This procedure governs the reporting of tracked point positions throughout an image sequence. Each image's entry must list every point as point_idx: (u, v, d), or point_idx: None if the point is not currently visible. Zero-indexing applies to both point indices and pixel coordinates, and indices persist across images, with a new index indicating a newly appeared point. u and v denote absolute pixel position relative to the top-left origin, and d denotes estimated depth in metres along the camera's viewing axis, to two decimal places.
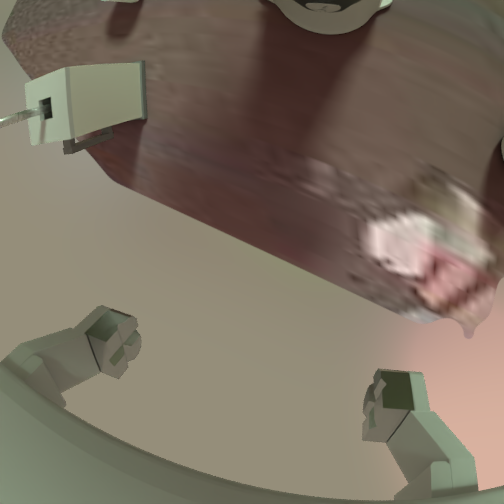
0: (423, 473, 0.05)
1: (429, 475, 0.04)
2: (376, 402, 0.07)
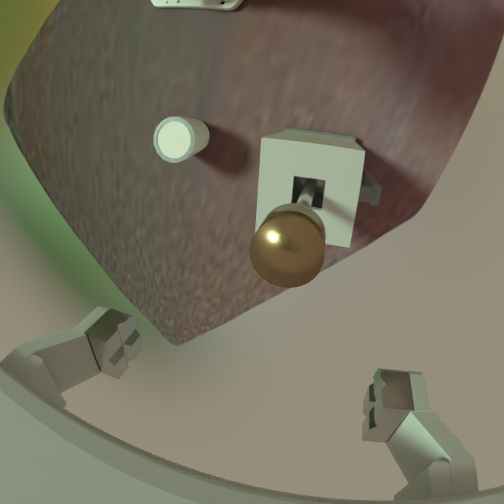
0: (423, 473, 0.05)
1: (429, 475, 0.04)
2: (376, 402, 0.07)
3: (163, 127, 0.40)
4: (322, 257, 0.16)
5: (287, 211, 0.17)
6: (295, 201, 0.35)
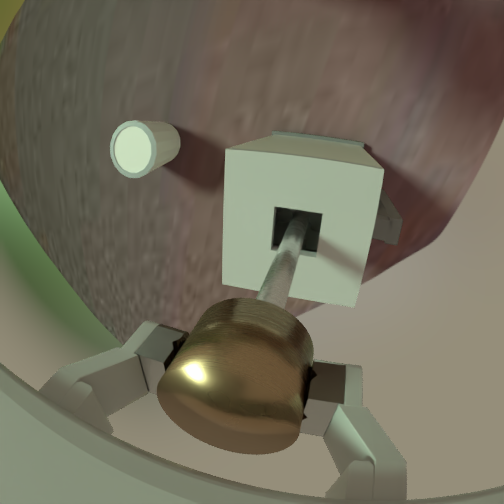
0: (344, 472, 0.05)
1: (347, 474, 0.05)
2: (307, 393, 0.08)
3: (120, 134, 0.31)
4: (297, 431, 0.07)
5: (228, 332, 0.08)
6: (281, 234, 0.26)
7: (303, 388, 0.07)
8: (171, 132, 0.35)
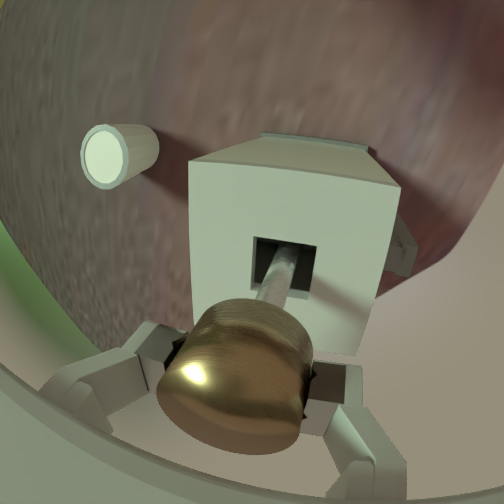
0: (345, 471, 0.05)
1: (347, 474, 0.05)
2: (307, 393, 0.08)
3: (90, 140, 0.27)
4: (297, 431, 0.07)
5: (227, 333, 0.08)
6: None
7: (303, 388, 0.07)
8: (148, 136, 0.30)
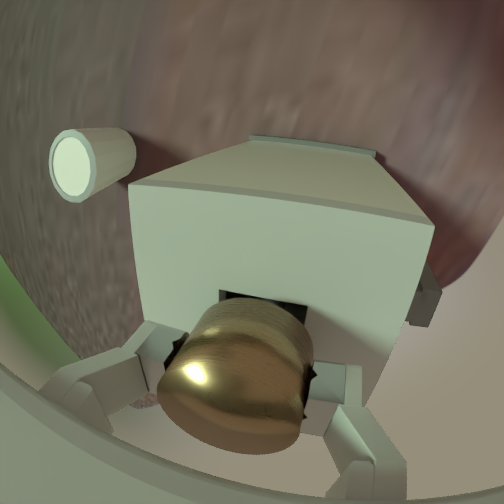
0: (345, 472, 0.05)
1: (348, 474, 0.05)
2: (307, 393, 0.08)
3: (57, 147, 0.22)
4: (297, 431, 0.07)
5: (228, 332, 0.08)
6: None
7: (303, 388, 0.07)
8: (122, 141, 0.26)
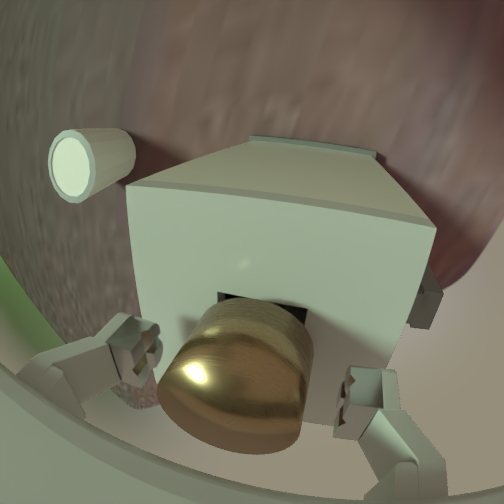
0: (389, 474, 0.05)
1: (394, 476, 0.05)
2: (345, 399, 0.07)
3: (57, 148, 0.22)
4: (297, 431, 0.07)
5: (228, 332, 0.08)
6: None
7: (303, 388, 0.07)
8: (121, 141, 0.26)
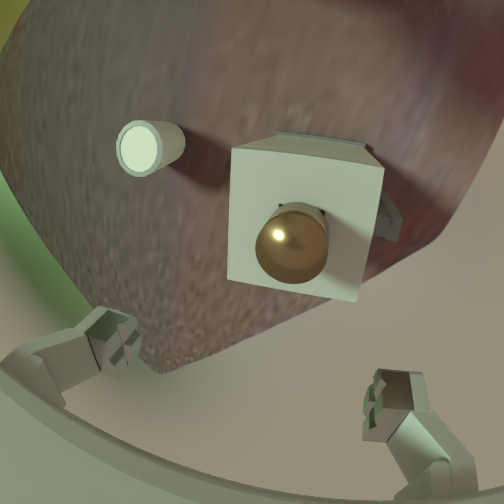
0: (423, 473, 0.05)
1: (429, 475, 0.04)
2: (376, 402, 0.07)
3: (126, 134, 0.32)
4: (326, 254, 0.16)
5: (292, 209, 0.17)
6: None
7: (327, 236, 0.17)
8: (176, 132, 0.35)
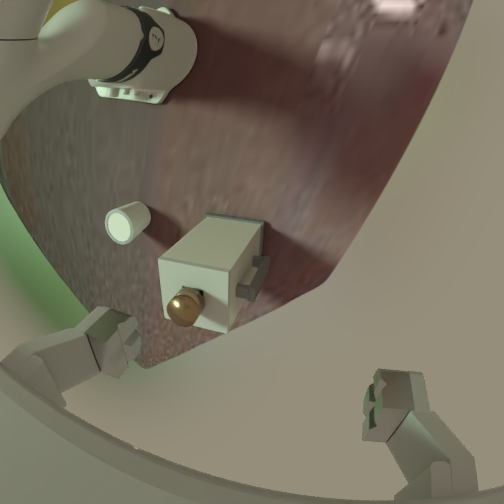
0: (423, 473, 0.05)
1: (429, 475, 0.04)
2: (376, 402, 0.07)
3: (110, 216, 0.51)
4: (195, 315, 0.36)
5: (182, 294, 0.37)
6: None
7: (197, 307, 0.36)
8: (143, 211, 0.55)
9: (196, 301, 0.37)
